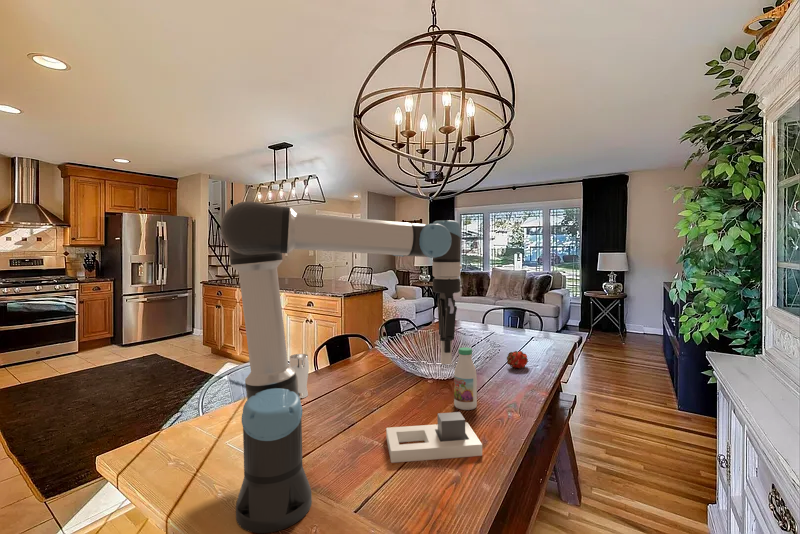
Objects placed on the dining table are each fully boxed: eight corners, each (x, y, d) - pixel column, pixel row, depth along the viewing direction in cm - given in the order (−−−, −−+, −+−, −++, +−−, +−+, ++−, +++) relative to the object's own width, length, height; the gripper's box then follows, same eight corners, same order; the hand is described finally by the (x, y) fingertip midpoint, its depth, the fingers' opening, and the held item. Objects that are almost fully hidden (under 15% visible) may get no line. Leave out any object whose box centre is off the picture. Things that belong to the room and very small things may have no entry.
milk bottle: (461, 399, 138) (461, 344, 137) (480, 405, 133) (480, 348, 132) (449, 406, 132) (449, 349, 131) (469, 412, 127) (469, 352, 126)
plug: (465, 448, 104) (465, 419, 104) (441, 450, 104) (441, 421, 103) (460, 439, 109) (460, 412, 109) (437, 441, 109) (437, 413, 108)
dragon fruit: (505, 373, 172) (524, 372, 178) (518, 366, 166) (537, 365, 172) (499, 355, 177) (517, 355, 183) (511, 347, 171) (530, 347, 177)
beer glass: (311, 392, 146) (311, 353, 146) (305, 399, 139) (304, 358, 139) (294, 392, 147) (293, 353, 146) (287, 399, 140) (286, 358, 139)
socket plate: (482, 455, 101) (482, 444, 101) (391, 462, 98) (390, 451, 98) (467, 432, 114) (467, 422, 114) (386, 437, 111) (386, 427, 111)
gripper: (466, 279, 99) (466, 370, 100) (453, 276, 112) (453, 356, 113) (438, 279, 98) (437, 371, 99) (428, 276, 111) (428, 357, 112)
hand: (446, 363), depth 106 cm, fingers closed
